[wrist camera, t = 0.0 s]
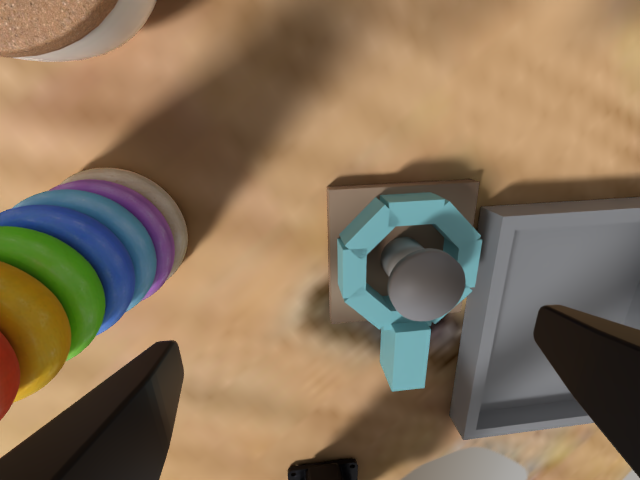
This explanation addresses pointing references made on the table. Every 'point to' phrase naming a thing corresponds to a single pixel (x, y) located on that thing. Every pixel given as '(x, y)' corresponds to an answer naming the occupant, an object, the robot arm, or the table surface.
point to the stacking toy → (79, 269)
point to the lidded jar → (68, 27)
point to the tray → (529, 296)
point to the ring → (396, 331)
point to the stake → (402, 252)
